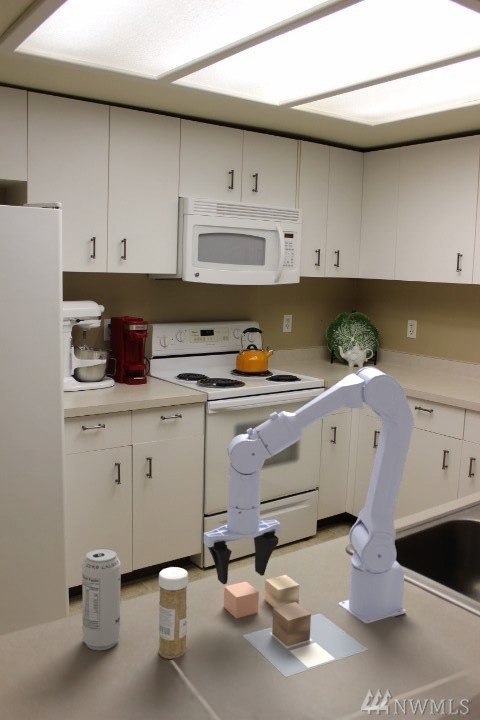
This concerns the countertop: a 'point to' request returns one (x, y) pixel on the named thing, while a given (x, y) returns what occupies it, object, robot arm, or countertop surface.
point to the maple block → (281, 591)
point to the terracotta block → (241, 599)
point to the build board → (306, 647)
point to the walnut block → (291, 624)
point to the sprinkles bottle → (172, 612)
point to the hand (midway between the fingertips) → (241, 577)
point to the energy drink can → (101, 598)
